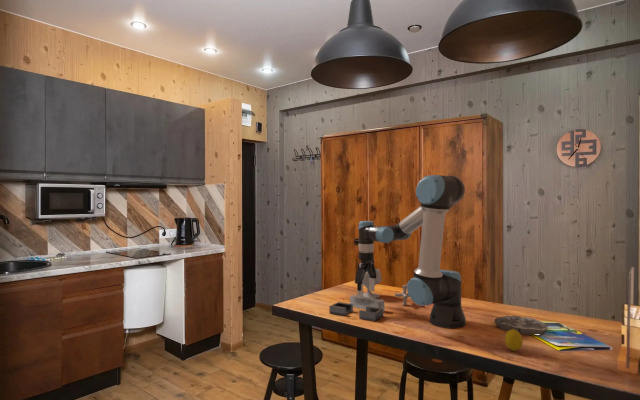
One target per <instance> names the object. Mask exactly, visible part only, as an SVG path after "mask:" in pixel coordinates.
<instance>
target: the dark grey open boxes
mask: <svg viewBox="0 0 640 400" xmlns="http://www.w3.org/2000/svg"><path fill="white" fill-rule="evenodd" d="M353 311H354V307H353V304H350V302H349V303H348V302H341V301H338V302H335V303H333V304H331V305H329V314H331V315H334V316H341V317H342V316H343V317H345V316H347V315H349V314H350V313H352V312H353ZM358 315H359V316H358V317H359V318H358V319H360V320H366V321H370V322H377V321H379V320H380V319H382V318H383V317H384V311H383V309H382V308H375V307H369V306H367V307H366V310H365V309H360V310H359V311H358Z"/></svg>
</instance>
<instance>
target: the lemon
mask: <svg viewBox="0 0 640 400" xmlns="http://www.w3.org/2000/svg"><path fill="white" fill-rule="evenodd" d="M522 337H523V336H522V334H520V333H519V332H518V331H516V330H515V329H512V330H509V331H506V332H505V336H504V341H505V345H506V346H507V348H508V349H509V350H511V351H512V352H515V351H518V350H520V349H521V348H522V346H523V338H522Z"/></svg>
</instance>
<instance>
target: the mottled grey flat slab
mask: <svg viewBox="0 0 640 400" xmlns="http://www.w3.org/2000/svg"><path fill="white" fill-rule="evenodd" d="M494 324H495V325H496V326H497V328H499V329H500V330H502V331H506V330H507V331H509V330H512V329H515V330H516V331H518V332H519V333H520V334H521V335H524V336H526V335H527V336H532V335H531V334H542V335H544V333H545V332H547V329H548V327H549V325H548V324H546V323H544V322H542V321H541V320H538V319H536V318H532V317H528V316H524V317H522V316H519V315H505V316H501V317H500V316H499V317H496V318H495V319H494ZM507 331H506V332H507Z"/></svg>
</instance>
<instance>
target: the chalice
mask: <svg viewBox="0 0 640 400" xmlns="http://www.w3.org/2000/svg"><path fill="white" fill-rule="evenodd" d="M375 270H376V274H377V276H376V278H374V279H375V286H377V285H378V284H380V283H381V281H382V273H381V270H380V269H378V268H375ZM369 278H370V276H369V274H368V271H367V272H366V273H365V276H364V279H363V282H362V284H363V287H365V288H366V289H367V291H366V292H363V296H364V297H369V298H375V299H379V298H380V297H381V296H380V294H379V293H375V292H372V291H369Z"/></svg>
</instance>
